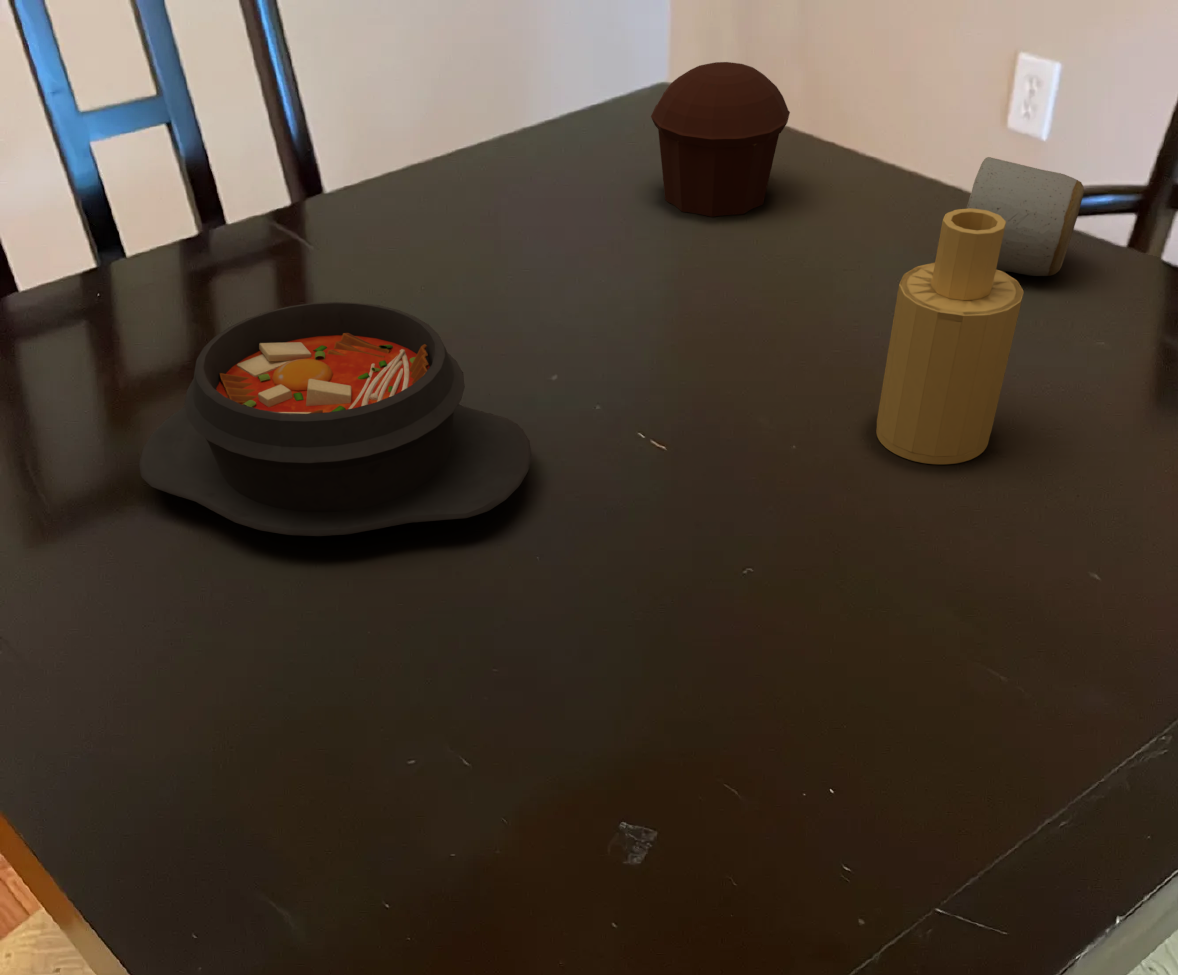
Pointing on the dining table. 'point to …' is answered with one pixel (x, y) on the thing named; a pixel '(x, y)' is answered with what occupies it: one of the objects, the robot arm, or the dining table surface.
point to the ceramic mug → (1029, 213)
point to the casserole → (333, 426)
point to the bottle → (950, 345)
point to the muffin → (719, 138)
